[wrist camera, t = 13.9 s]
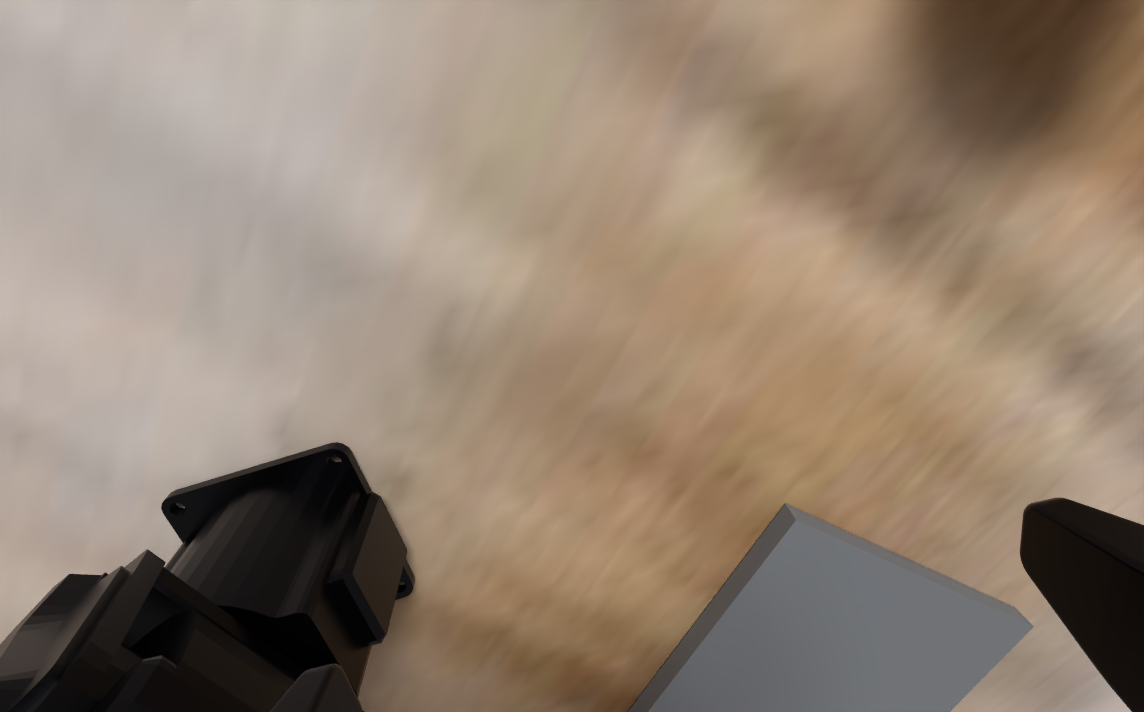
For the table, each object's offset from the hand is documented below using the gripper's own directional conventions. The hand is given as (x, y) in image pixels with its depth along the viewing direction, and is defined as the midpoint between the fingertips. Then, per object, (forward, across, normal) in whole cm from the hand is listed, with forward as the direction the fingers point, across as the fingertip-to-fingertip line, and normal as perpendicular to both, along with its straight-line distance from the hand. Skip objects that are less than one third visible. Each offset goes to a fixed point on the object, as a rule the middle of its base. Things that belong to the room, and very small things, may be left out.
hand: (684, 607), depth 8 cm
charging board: (+12, -3, +22) cm, 25 cm away
